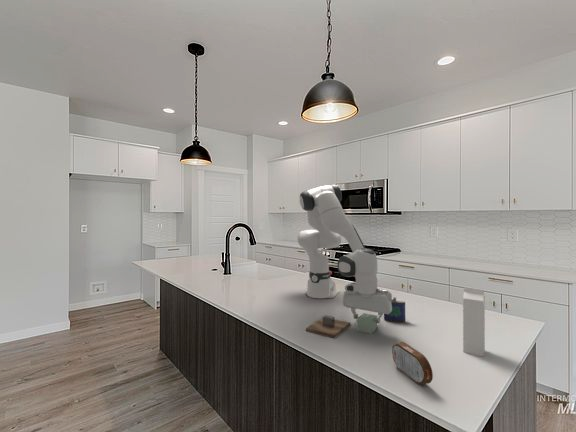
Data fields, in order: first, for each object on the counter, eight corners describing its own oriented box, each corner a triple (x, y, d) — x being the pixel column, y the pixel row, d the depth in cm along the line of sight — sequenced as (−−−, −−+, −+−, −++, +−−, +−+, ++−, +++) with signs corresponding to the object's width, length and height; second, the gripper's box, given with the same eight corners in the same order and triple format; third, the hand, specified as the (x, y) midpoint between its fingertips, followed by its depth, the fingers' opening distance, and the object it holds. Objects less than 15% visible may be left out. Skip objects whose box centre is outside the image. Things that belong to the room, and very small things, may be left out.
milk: (465, 346, 108) (464, 285, 108) (485, 350, 105) (484, 287, 105) (463, 352, 103) (462, 289, 103) (483, 357, 100) (483, 291, 100)
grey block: (325, 325, 128) (325, 315, 128) (334, 328, 126) (334, 317, 126) (322, 327, 126) (322, 316, 126) (332, 330, 124) (332, 318, 124)
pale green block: (356, 330, 123) (356, 317, 123) (363, 324, 130) (363, 312, 130) (371, 333, 120) (371, 320, 120) (377, 327, 126) (377, 314, 126)
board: (323, 319, 136) (323, 316, 136) (350, 325, 129) (350, 322, 129) (305, 330, 123) (305, 327, 123) (334, 338, 116) (334, 335, 116)
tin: (433, 389, 82) (433, 359, 82) (424, 391, 81) (424, 360, 81) (398, 363, 96) (398, 337, 96) (390, 364, 95) (390, 338, 95)
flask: (405, 320, 134) (405, 296, 134) (405, 322, 131) (405, 298, 131) (383, 318, 137) (383, 295, 136) (384, 321, 134) (383, 297, 134)
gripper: (394, 289, 121) (394, 323, 121) (347, 283, 133) (347, 314, 132) (389, 292, 116) (389, 328, 116) (341, 285, 127) (341, 318, 127)
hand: (366, 320), depth 124 cm, fingers open, 8 cm apart
